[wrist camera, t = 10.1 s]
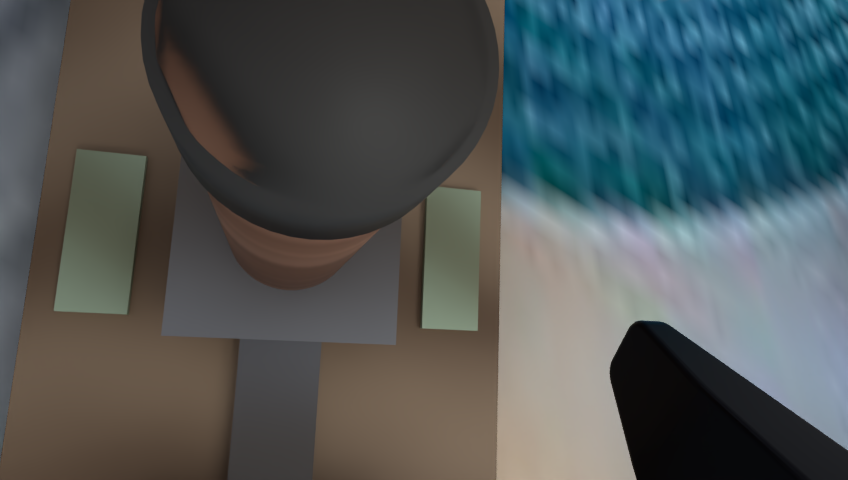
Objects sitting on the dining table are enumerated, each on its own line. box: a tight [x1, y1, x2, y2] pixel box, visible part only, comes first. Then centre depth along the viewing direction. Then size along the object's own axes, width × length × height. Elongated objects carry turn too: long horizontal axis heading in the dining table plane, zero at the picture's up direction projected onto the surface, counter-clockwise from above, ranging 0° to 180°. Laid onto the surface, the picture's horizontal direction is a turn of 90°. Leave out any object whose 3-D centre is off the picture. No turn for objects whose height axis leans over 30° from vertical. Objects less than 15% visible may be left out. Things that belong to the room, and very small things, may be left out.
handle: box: [141, 0, 499, 345], centre depth 10 cm, size 5×5×11 cm
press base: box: [0, 0, 505, 480], centre depth 16 cm, size 24×12×4 cm, turn 178°
